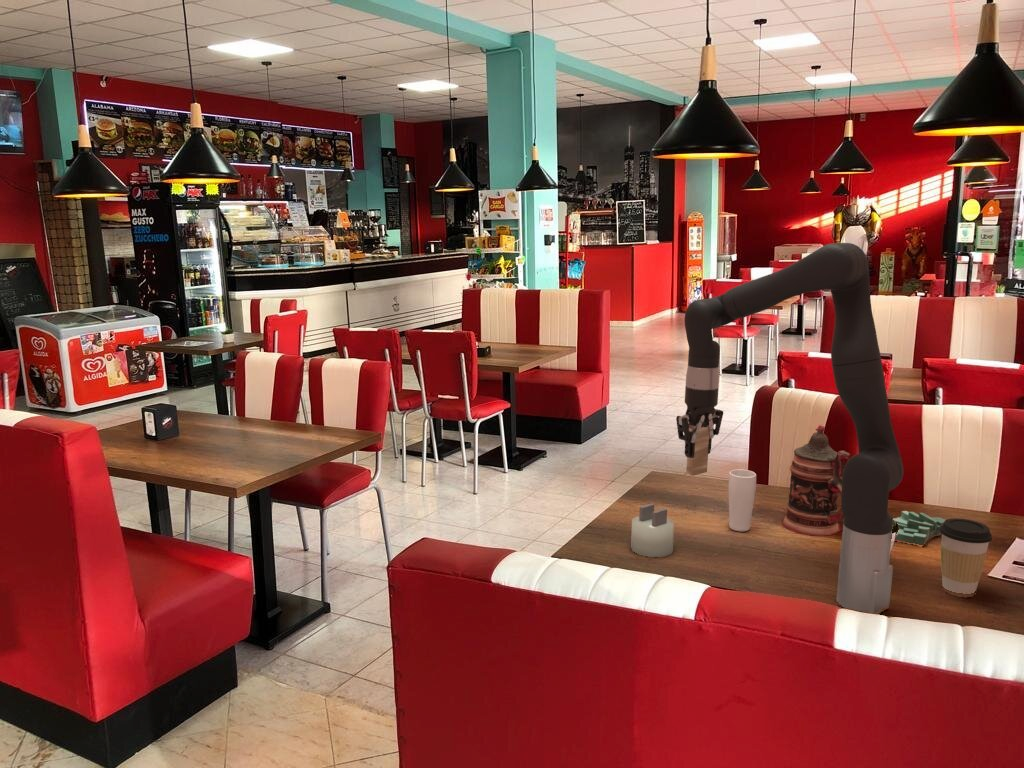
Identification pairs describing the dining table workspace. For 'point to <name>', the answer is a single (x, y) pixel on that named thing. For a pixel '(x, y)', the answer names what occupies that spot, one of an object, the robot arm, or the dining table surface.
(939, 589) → the dining table surface
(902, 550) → the dining table surface
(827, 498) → the beer stein
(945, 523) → the coffee cup
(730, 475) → the drinking glass
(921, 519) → the money
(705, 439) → the brown wooden block
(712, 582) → the dining table surface
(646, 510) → the cream plug cylinder
